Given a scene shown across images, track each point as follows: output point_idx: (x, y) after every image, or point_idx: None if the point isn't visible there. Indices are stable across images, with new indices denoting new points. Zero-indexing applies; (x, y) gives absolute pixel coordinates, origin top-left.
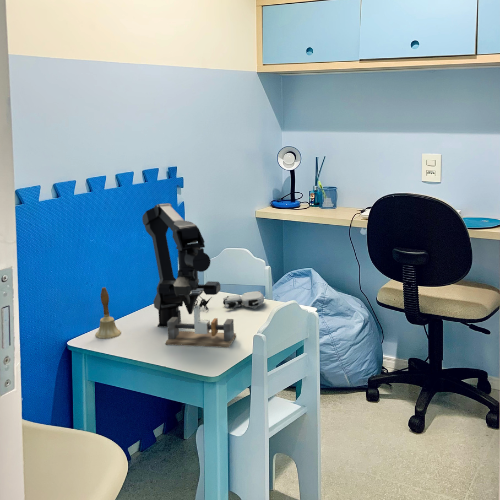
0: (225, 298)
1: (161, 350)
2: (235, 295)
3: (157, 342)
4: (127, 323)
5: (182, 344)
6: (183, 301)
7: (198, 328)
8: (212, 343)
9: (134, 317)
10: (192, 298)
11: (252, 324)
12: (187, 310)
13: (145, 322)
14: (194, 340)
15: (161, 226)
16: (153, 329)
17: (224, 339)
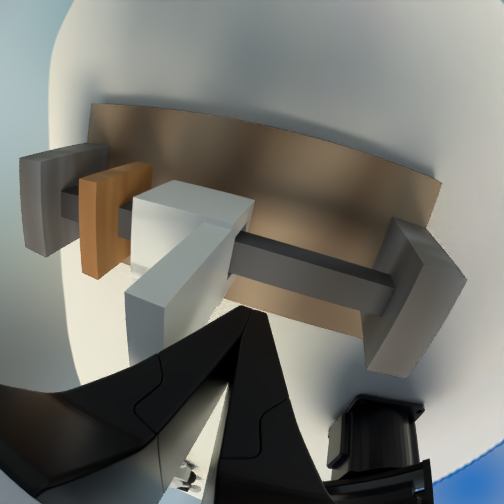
0: (187, 486)
1: (452, 94)
2: None
3: (470, 228)
4: (490, 426)
5: (341, 145)
6: (303, 448)
7: (214, 202)
8: (158, 108)
9: (454, 458)
10: (74, 419)
11: (82, 341)
12: (271, 338)
13: (444, 435)
14: (265, 167)
15: None
16: (445, 386)
17: (103, 146)
